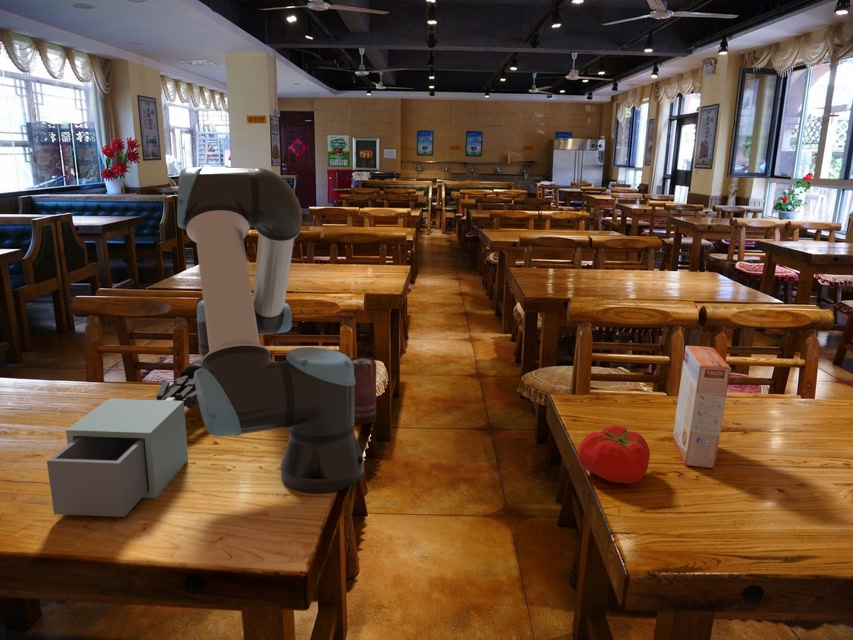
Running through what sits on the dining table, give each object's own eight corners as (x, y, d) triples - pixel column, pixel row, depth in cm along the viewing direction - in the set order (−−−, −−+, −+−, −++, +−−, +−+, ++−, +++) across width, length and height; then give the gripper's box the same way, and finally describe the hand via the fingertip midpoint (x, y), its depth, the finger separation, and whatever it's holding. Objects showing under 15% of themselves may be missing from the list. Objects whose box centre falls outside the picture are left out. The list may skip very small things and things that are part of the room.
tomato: (599, 499, 111) (604, 453, 109) (565, 465, 123) (569, 423, 120) (667, 490, 115) (673, 445, 112) (628, 458, 126) (633, 417, 124)
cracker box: (716, 470, 122) (732, 367, 117) (683, 466, 123) (698, 364, 118) (701, 439, 136) (715, 346, 130) (671, 436, 137) (684, 343, 131)
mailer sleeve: (115, 457, 121) (108, 398, 118) (188, 459, 121) (183, 400, 118) (74, 495, 107) (65, 430, 104) (156, 498, 107) (150, 432, 104)
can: (363, 428, 137) (363, 366, 133) (342, 420, 141) (342, 360, 137) (382, 419, 142) (382, 359, 138) (361, 412, 145) (361, 353, 142)
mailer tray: (127, 446, 123) (122, 401, 120) (184, 448, 123) (181, 403, 120) (54, 514, 100) (46, 460, 97) (124, 516, 99) (119, 463, 97)
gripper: (230, 391, 147) (193, 434, 125) (175, 389, 148) (127, 432, 125) (229, 360, 146) (190, 399, 123) (172, 359, 146) (123, 397, 123)
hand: (158, 416), depth 124 cm, fingers closed
